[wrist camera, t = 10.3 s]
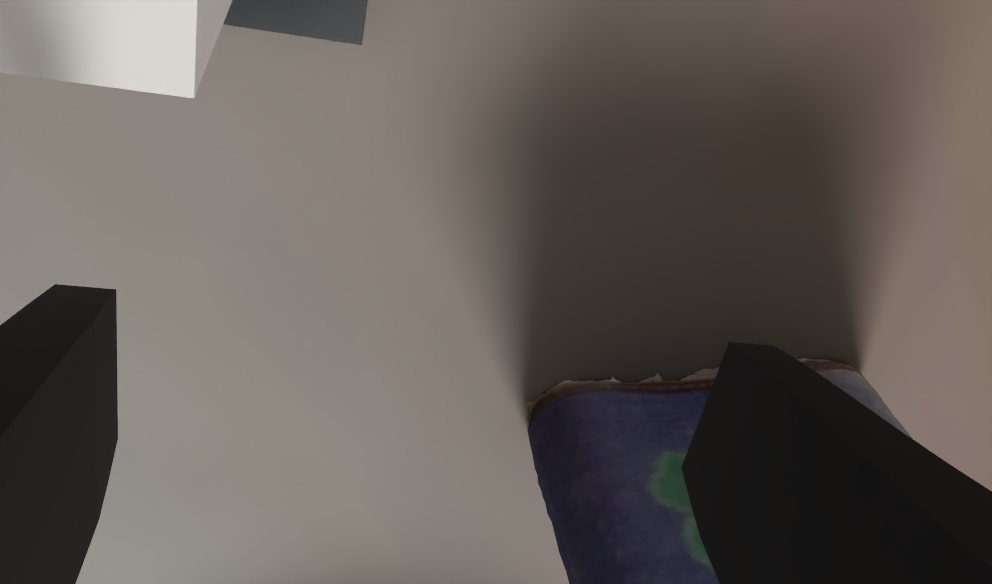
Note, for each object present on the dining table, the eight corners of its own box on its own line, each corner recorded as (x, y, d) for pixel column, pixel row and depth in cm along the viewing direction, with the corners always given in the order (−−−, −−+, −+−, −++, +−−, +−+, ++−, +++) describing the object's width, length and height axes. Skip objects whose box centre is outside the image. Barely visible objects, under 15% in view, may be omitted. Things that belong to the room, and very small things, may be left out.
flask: (868, 349, 24) (1188, 721, 15) (845, 435, 26) (1123, 820, 17) (523, 378, 23) (643, 800, 14) (520, 466, 24) (627, 899, 15)
